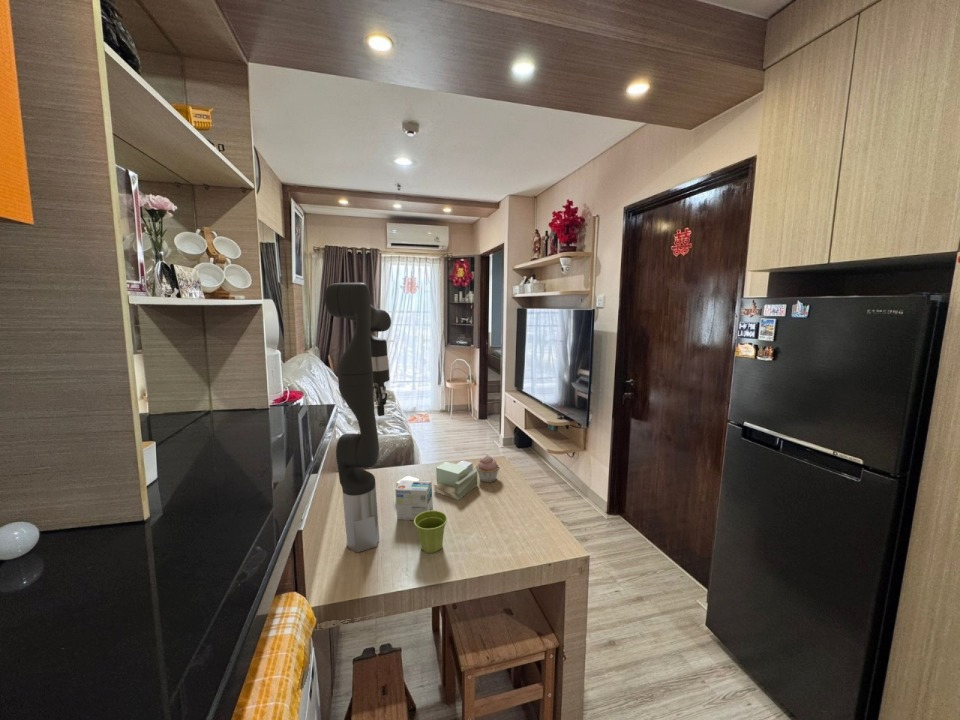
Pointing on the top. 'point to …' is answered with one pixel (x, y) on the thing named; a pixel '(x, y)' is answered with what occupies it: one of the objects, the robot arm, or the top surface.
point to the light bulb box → (413, 498)
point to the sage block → (450, 473)
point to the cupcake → (487, 469)
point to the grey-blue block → (466, 465)
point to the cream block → (407, 480)
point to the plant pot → (430, 530)
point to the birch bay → (458, 486)
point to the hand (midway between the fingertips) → (381, 415)
